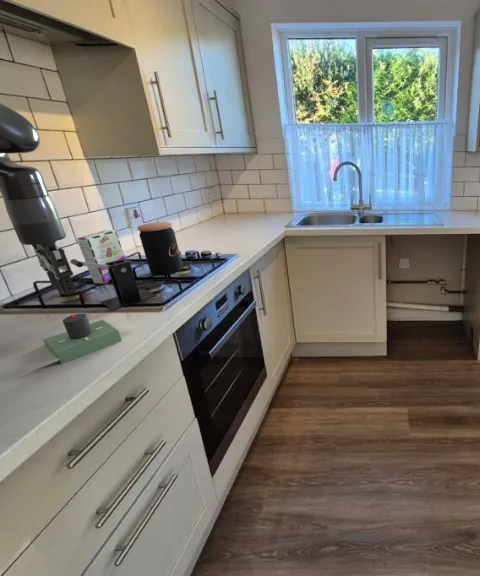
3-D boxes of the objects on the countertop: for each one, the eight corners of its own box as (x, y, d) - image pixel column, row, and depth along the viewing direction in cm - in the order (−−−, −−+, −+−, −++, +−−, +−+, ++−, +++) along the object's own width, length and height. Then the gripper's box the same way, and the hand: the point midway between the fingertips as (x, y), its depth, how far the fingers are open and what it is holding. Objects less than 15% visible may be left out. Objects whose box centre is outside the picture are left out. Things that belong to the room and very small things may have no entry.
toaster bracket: (114, 313, 103) (99, 271, 98) (101, 305, 109) (86, 265, 104) (158, 298, 112) (147, 259, 107) (144, 291, 117) (132, 254, 112)
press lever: (75, 268, 96) (77, 260, 96) (69, 265, 98) (71, 256, 98) (127, 274, 106) (129, 266, 106) (120, 271, 109) (122, 263, 108)
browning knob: (95, 333, 86) (88, 315, 85) (72, 341, 83) (65, 322, 81) (89, 328, 89) (82, 310, 87) (67, 335, 86) (59, 317, 84)
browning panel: (61, 364, 80) (55, 352, 79) (47, 350, 86) (42, 338, 84) (121, 340, 89) (117, 329, 88) (106, 329, 94) (102, 318, 93)
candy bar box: (119, 272, 135) (104, 229, 129) (130, 273, 135) (116, 229, 128) (92, 283, 125) (75, 237, 119) (104, 284, 124) (88, 238, 118)
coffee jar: (180, 276, 130) (167, 227, 123) (147, 279, 128) (132, 229, 121) (187, 266, 140) (175, 220, 133) (156, 269, 137) (143, 223, 130)
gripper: (68, 219, 75) (94, 290, 81) (48, 212, 83) (74, 278, 89) (19, 226, 69) (52, 302, 76) (4, 218, 77) (34, 288, 84)
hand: (64, 289), depth 82 cm, fingers open, 8 cm apart
